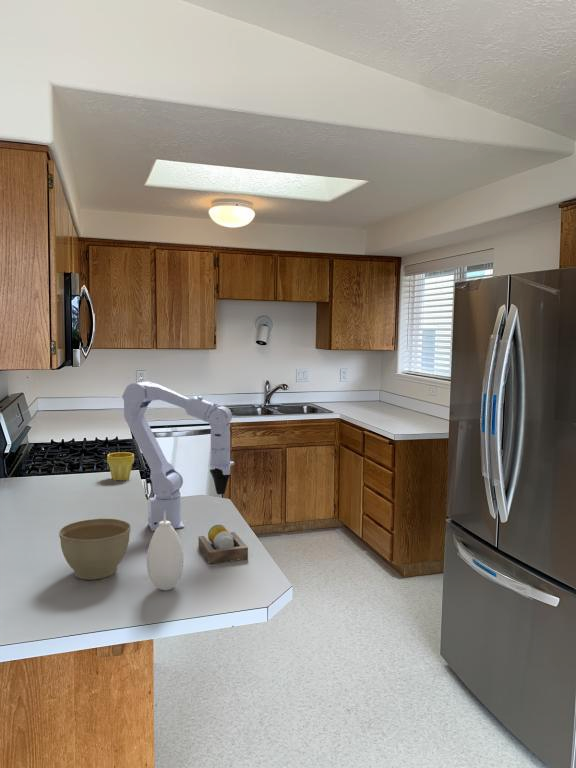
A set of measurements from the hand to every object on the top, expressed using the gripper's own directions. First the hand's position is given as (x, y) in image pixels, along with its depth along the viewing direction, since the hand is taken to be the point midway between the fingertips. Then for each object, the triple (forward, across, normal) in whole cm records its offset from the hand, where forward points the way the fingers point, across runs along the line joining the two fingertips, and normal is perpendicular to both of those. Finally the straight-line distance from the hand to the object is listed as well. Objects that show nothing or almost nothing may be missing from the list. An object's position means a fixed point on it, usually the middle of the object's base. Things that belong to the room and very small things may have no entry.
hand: (220, 493), depth 171 cm
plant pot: (+11, +72, +22) cm, 76 cm away
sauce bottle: (+11, -36, +22) cm, 44 cm away
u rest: (+10, -19, +4) cm, 22 cm away
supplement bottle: (+8, -11, +4) cm, 14 cm away
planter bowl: (+11, -21, +36) cm, 43 cm away
